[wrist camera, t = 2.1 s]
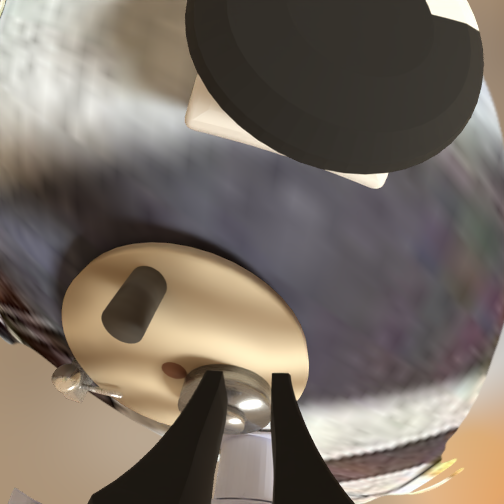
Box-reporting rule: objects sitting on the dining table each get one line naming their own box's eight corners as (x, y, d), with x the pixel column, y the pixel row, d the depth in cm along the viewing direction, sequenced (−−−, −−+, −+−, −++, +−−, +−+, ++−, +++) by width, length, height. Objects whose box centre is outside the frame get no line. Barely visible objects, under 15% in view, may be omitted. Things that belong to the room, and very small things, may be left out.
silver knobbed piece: (137, 375, 26) (119, 419, 21) (81, 363, 26) (59, 401, 21) (129, 356, 24) (107, 402, 19) (71, 345, 25) (46, 383, 20)
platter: (297, 423, 26) (298, 470, 21) (115, 404, 27) (99, 442, 22) (318, 241, 16) (336, 298, 12) (40, 244, 18) (-5, 281, 13)
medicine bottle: (339, 159, 16) (455, 264, 5) (218, 120, 15) (97, 149, 4) (377, 51, 12) (528, -5, 2) (255, 9, 12) (220, -135, 1)
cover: (271, 415, 22) (270, 446, 20) (192, 410, 23) (185, 439, 20) (272, 365, 19) (271, 402, 16) (175, 360, 20) (164, 394, 17)
